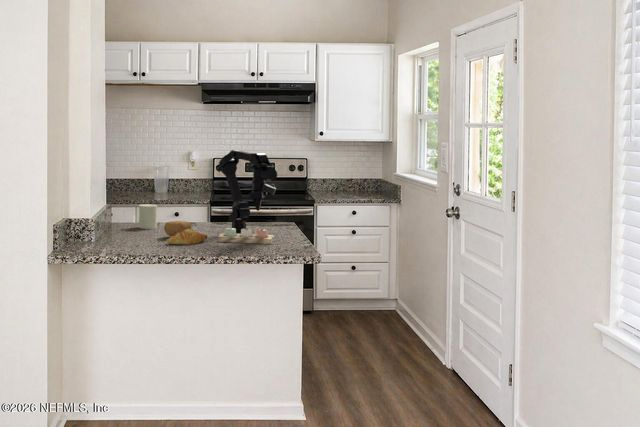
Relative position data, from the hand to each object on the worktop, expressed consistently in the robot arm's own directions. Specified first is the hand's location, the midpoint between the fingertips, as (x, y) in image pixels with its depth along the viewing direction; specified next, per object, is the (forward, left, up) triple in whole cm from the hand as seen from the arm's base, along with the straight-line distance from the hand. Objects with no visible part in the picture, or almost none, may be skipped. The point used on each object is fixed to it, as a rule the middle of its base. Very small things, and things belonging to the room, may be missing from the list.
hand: (257, 210), depth 393 cm
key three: (+10, -11, -13) cm, 20 cm away
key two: (+3, -15, -13) cm, 20 cm away
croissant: (-15, -37, -13) cm, 42 cm away
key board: (+3, -15, -13) cm, 20 cm away
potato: (-28, -27, -13) cm, 41 cm away
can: (-59, -12, -13) cm, 62 cm away
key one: (-4, -18, -13) cm, 22 cm away
